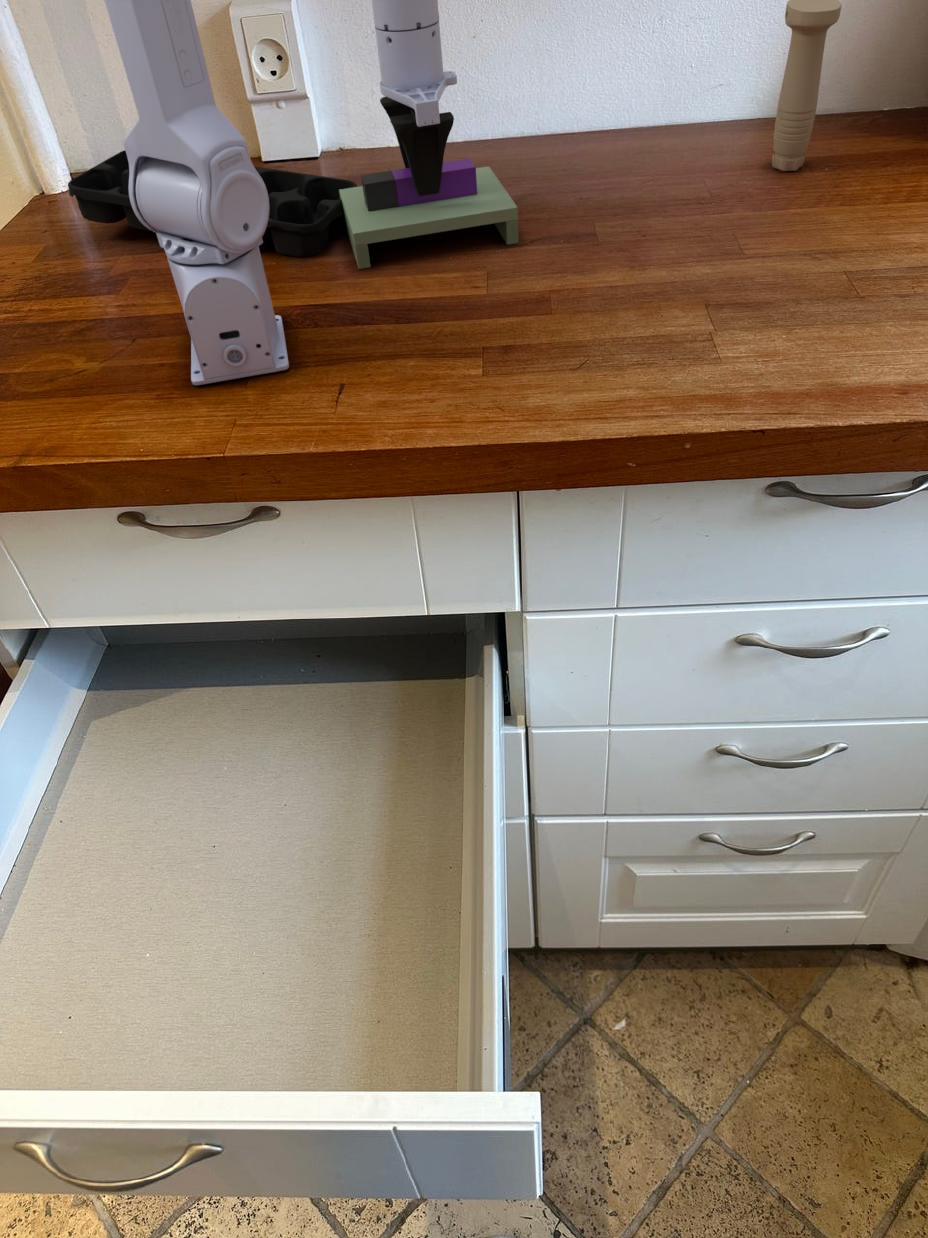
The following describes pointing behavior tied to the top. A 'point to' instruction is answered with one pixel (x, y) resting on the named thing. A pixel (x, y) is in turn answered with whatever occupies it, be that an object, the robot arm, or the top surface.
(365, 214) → the shelf
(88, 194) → the egg carton
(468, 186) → the marker
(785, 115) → the handle
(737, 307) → the top surface
